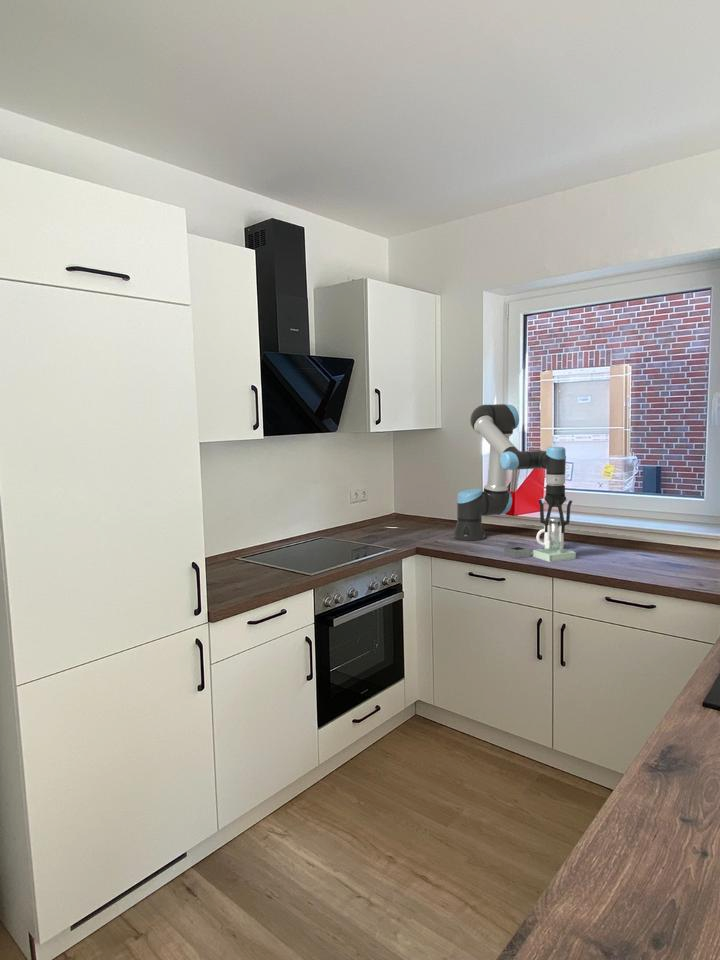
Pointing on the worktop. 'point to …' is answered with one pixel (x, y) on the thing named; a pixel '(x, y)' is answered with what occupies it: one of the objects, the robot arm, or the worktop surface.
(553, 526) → the pin
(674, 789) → the worktop surface
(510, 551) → the hitch plate
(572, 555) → the tray
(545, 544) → the mug
